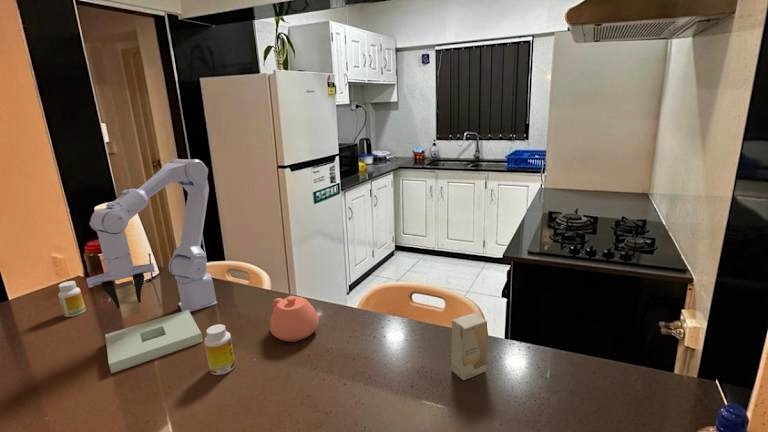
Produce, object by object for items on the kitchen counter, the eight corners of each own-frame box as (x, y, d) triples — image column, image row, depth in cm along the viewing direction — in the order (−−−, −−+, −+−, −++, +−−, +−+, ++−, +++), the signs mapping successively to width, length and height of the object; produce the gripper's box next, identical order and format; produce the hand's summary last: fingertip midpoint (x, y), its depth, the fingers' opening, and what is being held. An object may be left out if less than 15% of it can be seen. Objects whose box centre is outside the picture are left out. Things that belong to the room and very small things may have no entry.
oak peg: (139, 307, 111) (132, 279, 109) (140, 313, 108) (133, 284, 106) (121, 312, 109) (114, 284, 107) (122, 318, 106) (115, 289, 104)
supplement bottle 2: (237, 371, 94) (230, 331, 91) (211, 379, 91) (203, 338, 89) (234, 358, 98) (227, 319, 96) (209, 365, 96) (201, 326, 93)
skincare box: (463, 381, 86) (463, 329, 83) (450, 370, 90) (450, 319, 87) (487, 371, 89) (488, 320, 86) (474, 360, 93) (474, 311, 89)
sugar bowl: (293, 352, 100) (288, 314, 97) (257, 335, 108) (251, 299, 105) (329, 328, 109) (325, 293, 106) (293, 314, 117) (289, 281, 114)
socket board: (189, 317, 119) (188, 309, 118) (202, 341, 106) (201, 332, 106) (107, 343, 108) (105, 334, 107) (111, 373, 95) (108, 364, 95)
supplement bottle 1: (90, 308, 128) (82, 279, 125) (76, 317, 123) (67, 287, 120) (74, 308, 128) (66, 279, 126) (59, 317, 123) (50, 287, 121)
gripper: (147, 244, 111) (158, 290, 115) (82, 258, 104) (95, 307, 107) (151, 251, 106) (161, 299, 110) (82, 266, 98) (96, 317, 102)
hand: (129, 304), depth 108 cm, fingers closed on oak peg, 4 cm apart
